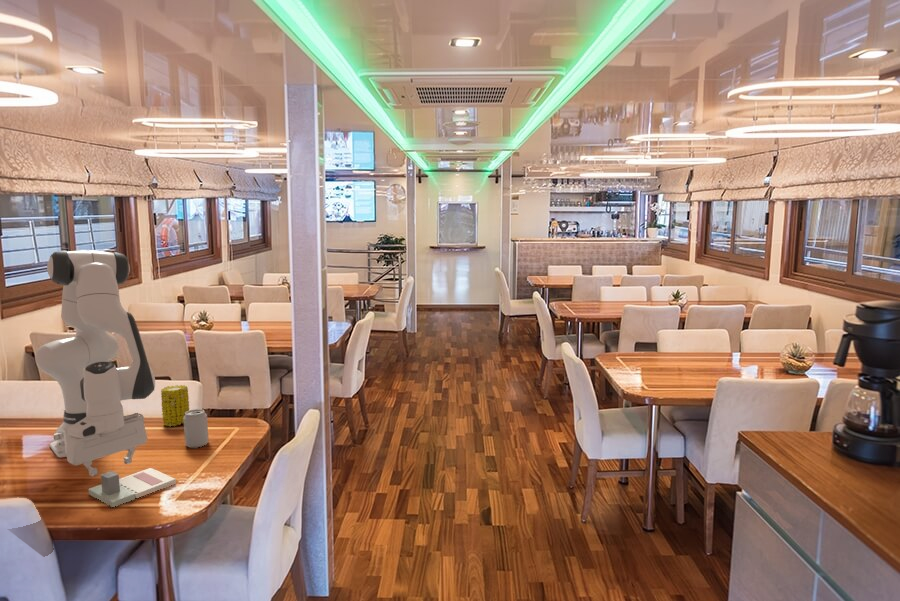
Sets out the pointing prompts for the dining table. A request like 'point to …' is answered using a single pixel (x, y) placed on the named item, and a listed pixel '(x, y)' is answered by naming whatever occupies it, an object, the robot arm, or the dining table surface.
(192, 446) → the can
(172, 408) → the food
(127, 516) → the dining table surface
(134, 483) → the spiral notepad
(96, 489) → the stub
